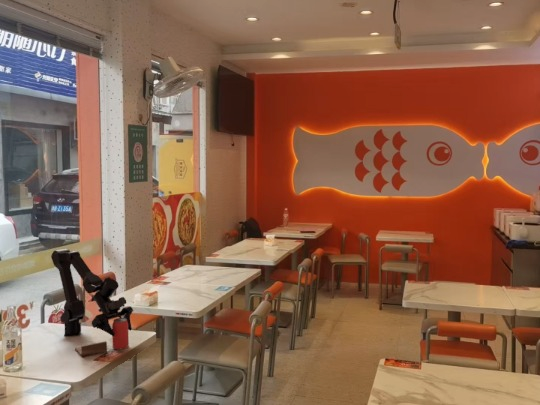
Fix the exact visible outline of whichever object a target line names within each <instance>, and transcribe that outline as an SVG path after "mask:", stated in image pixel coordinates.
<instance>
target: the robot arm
mask: <svg viewBox="0 0 540 405" xmlns="http://www.w3.org/2000/svg"><path fill="white" fill-rule="evenodd" d="M50 257H51V261H52V264H53V266H54V267H55V268H56V269H57V270H58V271H59V272H58V273H59V276H60V280H61V286H62V290H63V293H64V298H65V302H64V306H63V311H64V312H63V313H62V314H61V315H60V318H59V319H60V323H63V324H64V335H63V336H64V337H72V336H80V334H81V332H82V322H81V320H83V319H84V315H85V312H86V307H85V304H84V301H83V299H81V300H80V299H79V297H78V295H77V292H76V286H75V282H74V278H73V274H72V270H71V265H72V267H73V268H74V269H75V271H76V272H77V274H78V275H79V277H80V278H81V280H82V286H83V289H84V290H85V292H86V293H87V294H92V295H91V302H95V303H96V305H97V306H98V308H99V309H98V312H99V313H100V314H97V315H96V316H94V318H93V319H92V321H91V326H92V327H93V328H95V329H99V330H100V331H101V330H102V331H103V332H106V334H109V335H110V336H111V337H112V336H114V335H115V334H114V332H113V330H112V325H110V323H109V321H110V320H112V319H113V320H114V319H117V318H126V319H127V322H128V331H132V330H133V328H132V323H131V315H132V314H133V312H134V311H135V310H134V309H133V307H132V306H131V305H130V306H129V305H128V306H126V307H125V305H126V304H127V300H126V298H125V297H124V296H121V297H119V298H118V299H117V300H114V299H112V300H111V298H110V297H112V296H113V294H114V293H115V292H116V291H117V289H118V288H119V282H118V281H116V280H115V279H113V278H111V277H110V276H108V277H105V278H104V279H102V278H101V277H100V276H99V275H98V274H95V273H94V272H92V270H91V269H90V268H89V266H88V265H87V263H86V262H85V261H84V259H83V257H81V254H80V252H79V251H77V250H70V249H68V248H64V249H63V248H62V249H57V250H56V249H55V250H53V252H52V253H51V255H50ZM93 293H94V294H93ZM121 308H122V309H121Z"/></svg>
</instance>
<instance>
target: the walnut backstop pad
mask: <svg viewBox="0 0 540 405" xmlns="http://www.w3.org/2000/svg"><path fill="white" fill-rule="evenodd" d="M107 344H108V343H107V340H105V341H99V342H95V343H89V344H85V345H80V346H75V347H74V350H75V353H76V352H77V354H79V356H80V357H81V358H86V357H92V356H98V355H102V354H107V353H108V348H107V347H108V345H107Z"/></svg>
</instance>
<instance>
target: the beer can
mask: <svg viewBox="0 0 540 405" xmlns="http://www.w3.org/2000/svg"><path fill="white" fill-rule="evenodd" d="M111 328H112V330H113V332H114V334H115V335H114V336H112V335H111V337H112V338H111V339H112V348H113V349H114V350H124V349H127V348H128V347H129V345H130V344H129V337H130V336H129V329H128V322H127V319H126V318H119V317H116V318H113V322H112V324H111Z"/></svg>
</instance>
